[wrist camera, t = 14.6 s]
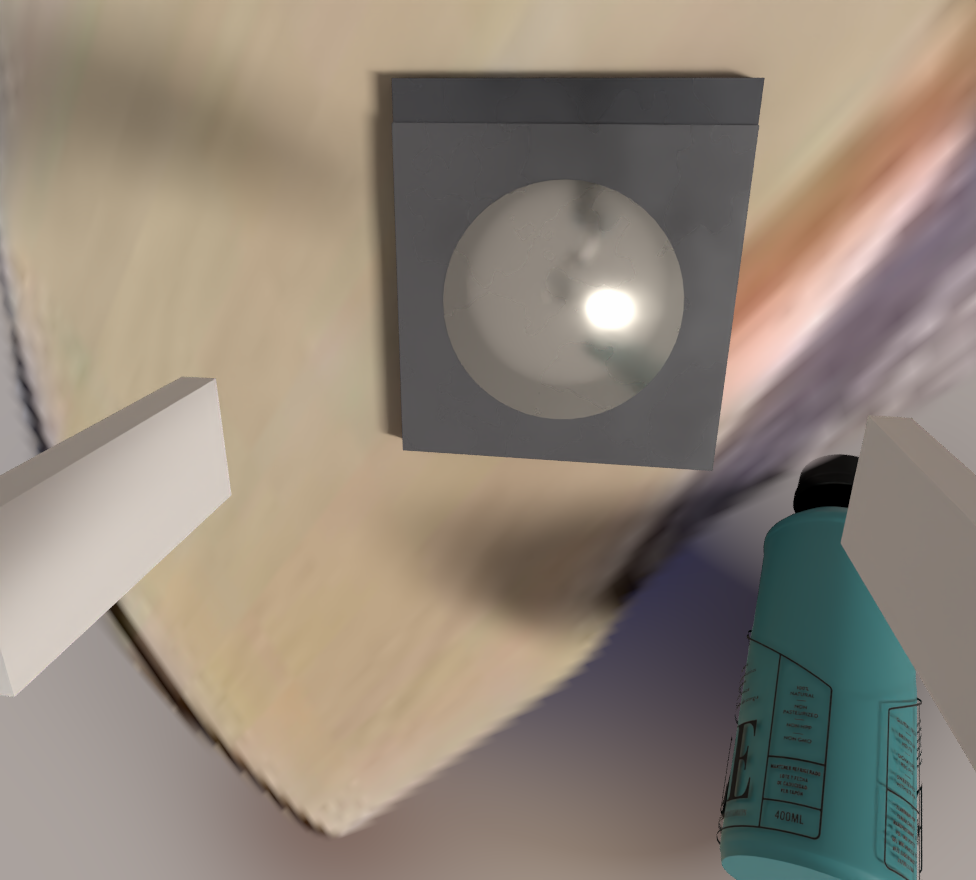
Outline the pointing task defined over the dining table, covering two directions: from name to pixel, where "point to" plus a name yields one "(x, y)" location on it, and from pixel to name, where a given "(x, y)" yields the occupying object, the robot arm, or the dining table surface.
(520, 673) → the dining table surface
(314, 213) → the dining table surface
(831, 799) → the beverage bottle
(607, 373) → the motor plate
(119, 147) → the dining table surface
